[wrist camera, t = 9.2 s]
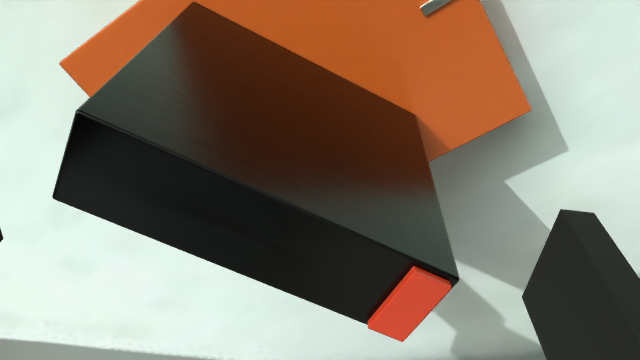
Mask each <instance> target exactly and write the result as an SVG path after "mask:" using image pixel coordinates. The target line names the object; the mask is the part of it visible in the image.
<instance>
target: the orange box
mask: <svg viewBox="0 0 640 360" xmlns="http://www.w3.org/2000/svg"><path fill="white" fill-rule="evenodd" d="M192 2H196V3H198V4H200V5H202V6H204V7H206V8H208V9H210V10H212V11H214V12H216V13H218V14H220V15H222V16H224V17H225V18H227V19H229V20H231V21H233V22H235V23H237V24H239V25H241V26H243V27H245V28H247V29H249V30H251V31H253V32H255V33H257V34H259V35H261V36H263V37H265V38H267V39H268V40H270V41H272V42H274V43H276V44H278V45H280V46H282V47H284V48H286V49H288V50H290V51H292V52H294V53H296V54H298V55H300V56H302V57H304V58H306V59H308V60H309V61H311V62H313V63H315V64H317V65H319V66H321V67H323V68H325V69H327V70H329V71H331V72H333V73H335V74H337V75H339V76H341V77H343V78H345V79H347V80H349V81H351V82H352V83H354V84H356V85H358V86H360V87H362V88H364V89H366V90H368V91H370V92H372V93H374V94H376V95H378V96H380V97H382V98H384V99H386V100H388V101H390V102H392V103H394V104H395V105H397V106H399V107H401V108H403V109H405V110H407V111H409V112H411V113H413V114H415V115H416V118H417V122H418V126H419V130H420V133H421V137H422V141H423V144H424V148H425V152H426V156H427V159H428V162H430V161H432V160H434V159H436V158H438V157H440V156H442V155H444V154H446V153H448V152H450V151H452V150H454V149H456V148H458V147H460V146H461V145H463V144H465V143H467V142H469V141H471V140H473V139H475V138H477V137H479V136H481V135H483V134H485V133H487V132H489V131H491V130H493V129H495V128H497V127H499V126H501V125H503V124H505V123H507V122H509V121H511V120H513V119H515V118H517V117H519V116H521V115H523V114H525V113H527V112H529V111H531V107H530V105H529V103H528V100H527V98H526V96H525V94H524V92H523V90H522V88H521V86H520V84H519V81H518V79H517V77H516V75H515V73H514V71H513V69H512V67H511V65H510V63H509V60H508V58H507V56H506V54H505V52H504V50H503V48H502V46H501V44H500V41H499V39H498V37H497V35H496V33H495V31H494V29H493V27H492V25H491V23H490V20H489V18H488V16H487V14H486V12H485V10H484V8H483V6H482V4H481V1H480V0H139V1H138V2H137V3H136V4H134V5H133V6H132V7H130V8H129V9H128V10H126V11H125V12H124V13H123V14H121V15H120V16H119V17H117V18H116V19H115V20H114V21H112V22H111V23H110V24H108V25H107V26H106V27H104V28H103V29H102V30H101V31H99V32H98V33H97V34H95V35H94V36H93V37H91V38H90V39H89V40H88V41H86V42H85V43H84V44H82V45H81V46H80V47H78V48H77V49H76V50H75V51H73V52H72V53H71V54H69V55H68V56H67V57H65V58H64V59H63V60H62V61H60V63H59V64H60V66H61V67H62V68H63V69H64V70H65V71H66V72H67V73H68V74H69V75H70V76H71V78H72V79H73V80H74V81H75V82H76V83H77V84H78V85H79V86H80V87H81V88H82V89H83V90H84V91H85V93H86V94H87V95H88V96H89V97H91V96H92V95H93V94H94V93H95V92H96V91H98V90H99V89H100V88H101V87H102V86H103V85H104V84H105V83H106V82H107V81H108V80H109V79H110V78H111V77H113V76H114V75H115V74H116V73H117V72H118V71H119V70H120V69H121V68H122V67H123V66H124V65H125V64H126V63H127V62H129V61H130V60H131V59H132V58H133V57H134V56H135V55H136V54H137V53H138V52H139V51H140V50H141V49H142V48H144V47H145V46H146V45H147V44H148V43H149V42H150V41H151V40H152V39H153V38H154V37H155V36H156V35H157V34H159V33H160V32H161V31H162V30H163V29H164V28H165V27H166V26H167V25H168V24H169V23H170V22H171V21H172V20H174V19H175V18H176V17H177V16H178V15H179V14H180V13H181V12H182V11H183V10H184V9H185V8H186V7H187V6H188V5H190V4H191V3H192Z"/></svg>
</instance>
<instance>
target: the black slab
mask: <svg viewBox="0 0 640 360" xmlns="http://www.w3.org/2000/svg"><path fill="white" fill-rule="evenodd" d="M52 197H53V199H55V200H57V201H60V202H62V203H65V204H67V205H70V206H72V207H75V208H77V209H80V210H82V211H85V212H87V213H90V214H92V215H95V216H97V217H100V218H102V219H105V220H107V221H110V222H112V223H115V224H117V225H120V226H122V227H125V228H127V229H130V230H132V231H135V232H137V233H140V234H142V235H145V236H147V237H150V238H152V239H155V240H157V241H160V242H162V243H165V244H167V245H170V246H172V247H175V248H177V249H180V250H182V251H185V252H187V253H190V254H192V255H195V256H197V257H200V258H202V259H205V260H207V261H210V262H212V263H215V264H217V265H220V266H222V267H225V268H227V269H230V270H232V271H235V272H237V273H240V274H242V275H245V276H247V277H250V278H252V279H255V280H257V281H260V282H262V283H264V284H267V285H269V286H272V287H274V288H277V289H279V290H282V291H284V292H287V293H289V294H292V295H294V296H297V297H299V298H302V299H304V300H307V301H309V302H312V303H314V304H317V305H319V306H322V307H324V308H327V309H329V310H332V311H334V312H337V313H339V314H342V315H344V316H347V317H349V318H352V319H354V320H357V321H359V322H362V323H364V324H367V325H368V328H369V329H371V330H374V331H376V332H379V333H381V334H384V335H386V336H389V337H391V338H394V339H396V340H399V341H401V342H403V341H404V340H405V339H406V338H407V337H408V336H409V335H410V334H411V333H412V331H413V330H414V329H415V328H416V327H417V326H418V325H419V324H420V323H421V322H422V321H423V319H424V318H425V317H426V316H427V315H428V314H429V313H430V312H431V311H432V310H433V309H434V307H435V306H436V305H437V304H438V303H439V302H440V301H441V300H442V299H443V298H444V296H445V295H446V294H447V293H448V292H449V291H450V290H451V289H452V288H453V287H454V286H455V284H456V283H457V282H458V281H459V274H458V271H457V267H456V263H455V260H454V256H453V252H452V248H451V245H450V241H449V237H448V234H447V230H446V226H445V222H444V219H443V215H442V211H441V208H440V204H439V200H438V196H437V193H436V189H435V185H434V182H433V178H432V174H431V170H430V167H429V163H428V159H427V156H426V152H425V148H424V144H423V141H422V137H421V133H420V130H419V126H418V122H417V118H416V115H415V114H413V113H411V112H409V111H407V110H405V109H403V108H401V107H399V106H397V105H395V104H394V103H392V102H390V101H388V100H386V99H384V98H382V97H380V96H378V95H376V94H374V93H372V92H370V91H368V90H366V89H364V88H362V87H360V86H358V85H356V84H354V83H352V82H351V81H349V80H347V79H345V78H343V77H341V76H339V75H337V74H335V73H333V72H331V71H329V70H327V69H325V68H323V67H321V66H319V65H317V64H315V63H313V62H311V61H309V60H308V59H306V58H304V57H302V56H300V55H298V54H296V53H294V52H292V51H290V50H288V49H286V48H284V47H282V46H280V45H278V44H276V43H274V42H272V41H270V40H268V39H267V38H265V37H263V36H261V35H259V34H257V33H255V32H253V31H251V30H249V29H247V28H245V27H243V26H241V25H239V24H237V23H235V22H233V21H231V20H229V19H227V18H225V17H224V16H222V15H220V14H218V13H216V12H214V11H212V10H210V9H208V8H206V7H204V6H202V5H200V4H198V3H196V2H192V3H191V4H190V5H188V6H187V7H186V8H185V9H184V10H183V11H182V12H181V13H180V14H179V15H178V16H177V17H176V18H175V19H174V20H172V21H171V22H170V23H169V24H168V25H167V26H166V27H165V28H164V29H163V30H162V31H161V32H160V33H159V34H157V35H156V36H155V37H154V38H153V39H152V40H151V41H150V42H149V43H148V44H147V45H146V46H145V47H144V48H142V49H141V50H140V51H139V52H138V53H137V54H136V55H135V56H134V57H133V58H132V59H131V60H130V61H129V62H127V63H126V64H125V65H124V66H123V67H122V68H121V69H120V70H119V71H118V72H117V73H116V74H115V75H114V76H113V77H111V78H110V79H109V80H108V81H107V82H106V83H105V84H104V85H103V86H102V87H101V88H100V89H99V90H98V91H96V92H95V93H94V94H93V95H92V96H91V97H90V98H89V99H88V100H87V101H86V102H85V103H84V104H83V105H81V106H80V107H79V108H78V109H77V110H76V112H75V116H74V119H73V123H72V126H71V130H70V134H69V137H68V141H67V145H66V148H65V152H64V156H63V159H62V163H61V166H60V170H59V174H58V177H57V181H56V185H55V188H54V192H53V196H52Z"/></svg>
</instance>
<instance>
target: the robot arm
mask: <svg viewBox="0 0 640 360" xmlns="http://www.w3.org/2000/svg"><path fill="white" fill-rule="evenodd" d="M2 240H3V236H2V232H1V229H0V242H1V241H2ZM522 298H523V301H524V304H525V306H526V309H527V311H528V314H529V316H530V319H531V321H532V324H533V326H534V329H535V331H536V334H537V336H538V339H539V341H540V344H541V346H542V349H543V352H544V354H545V357H546V359H547V360H640V279H639V277H638V276H637V274H636V273H635V271H634V270H633V269H632V267H631V266H630V264H629V263H628V261H627V260H626V258H625V257H624V256H623V254H622V253H621V251H620V250H619V248H618V247H617V245H616V244H615V243H614V241H613V240H612V238H611V237H610V235H609V234H608V232H607V231H606V230H605V228H604V227H603V225H602V224H601V222H600V221H599V219H598V218H597V217H596V215H595V214H594V213H589V212H581V211H572V210H563V209H561V210H560V212H559V214H558V216H557V219H556V221H555V223H554V225H553V228H552V230H551V232H550V234H549V237H548V239H547V241H546V243H545V246H544V248H543V250H542V252H541V255H540V257H539V259H538V261H537V264H536V266H535V268H534V270H533V273H532V275H531V277H530V279H529V282H528V284H527V286H526V289H525V291H524V293H523V295H522Z"/></svg>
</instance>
